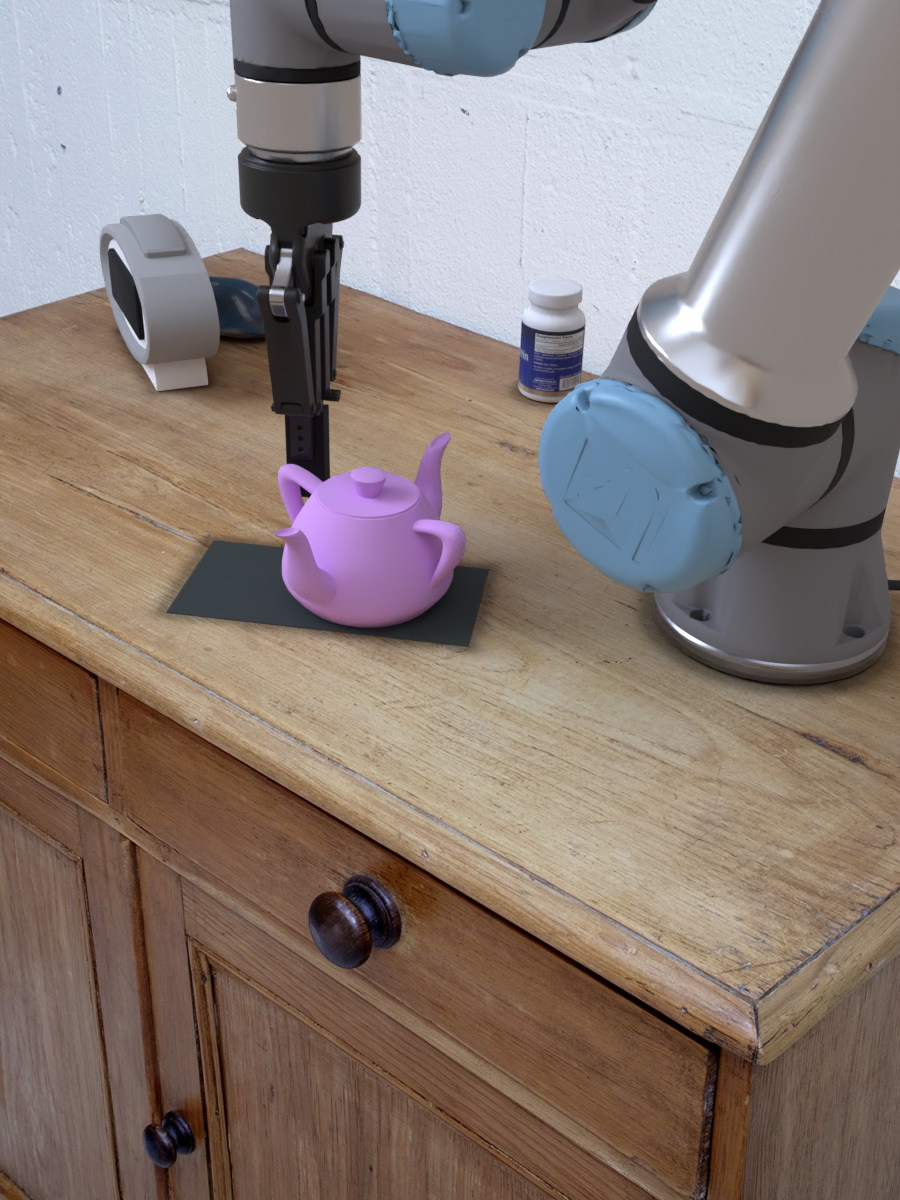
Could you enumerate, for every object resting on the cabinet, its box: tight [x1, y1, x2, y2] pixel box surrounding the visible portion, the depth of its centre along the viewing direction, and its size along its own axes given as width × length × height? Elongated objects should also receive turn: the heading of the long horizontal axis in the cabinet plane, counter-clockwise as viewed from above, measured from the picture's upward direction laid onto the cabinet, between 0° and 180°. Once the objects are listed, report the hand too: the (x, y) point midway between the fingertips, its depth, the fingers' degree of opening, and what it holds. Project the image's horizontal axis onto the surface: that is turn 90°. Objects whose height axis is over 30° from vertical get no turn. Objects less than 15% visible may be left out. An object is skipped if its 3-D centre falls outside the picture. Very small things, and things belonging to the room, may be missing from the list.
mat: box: [165, 539, 490, 648], centre depth 89 cm, size 20×10×1 cm, turn 81°
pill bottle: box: [517, 277, 587, 404], centre depth 117 cm, size 6×6×10 cm
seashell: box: [209, 276, 265, 340], centre depth 130 cm, size 6×9×10 cm
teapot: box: [273, 432, 467, 628], centre depth 86 cm, size 12×14×9 cm
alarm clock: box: [98, 213, 221, 392], centre depth 121 cm, size 23×6×13 cm, turn 23°
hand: (309, 492), depth 92 cm, fingers closed
